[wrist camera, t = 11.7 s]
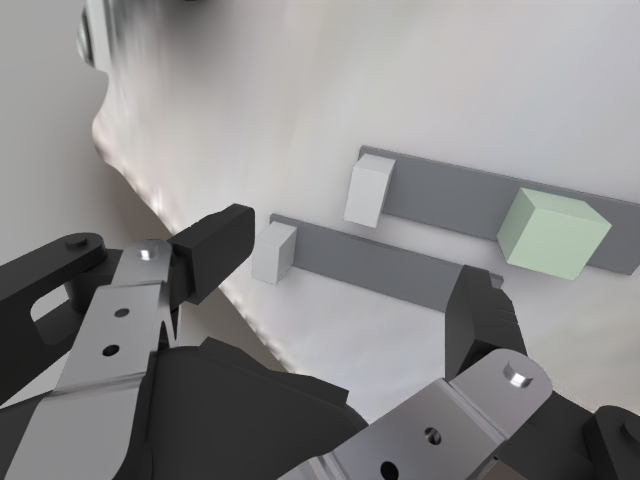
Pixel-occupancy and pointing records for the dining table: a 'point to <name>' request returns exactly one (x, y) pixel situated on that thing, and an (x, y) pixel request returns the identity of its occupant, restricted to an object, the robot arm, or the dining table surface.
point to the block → (550, 233)
